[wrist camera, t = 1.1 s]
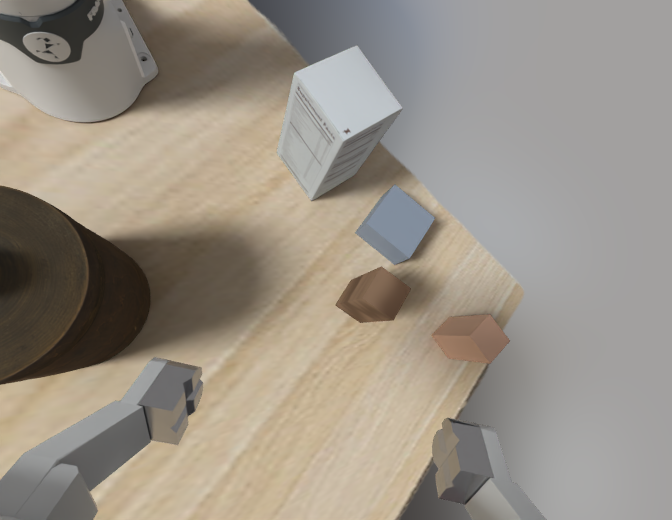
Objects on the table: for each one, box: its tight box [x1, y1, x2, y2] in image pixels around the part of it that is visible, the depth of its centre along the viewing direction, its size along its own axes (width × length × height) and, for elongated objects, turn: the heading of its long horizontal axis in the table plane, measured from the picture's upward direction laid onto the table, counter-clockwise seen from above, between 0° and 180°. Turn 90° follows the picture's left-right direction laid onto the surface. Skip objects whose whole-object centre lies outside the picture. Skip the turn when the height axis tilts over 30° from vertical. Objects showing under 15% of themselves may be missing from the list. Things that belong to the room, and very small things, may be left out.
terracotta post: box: [432, 314, 510, 364], centre depth 48 cm, size 4×4×9 cm
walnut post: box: [336, 267, 411, 323], centre depth 44 cm, size 4×4×11 cm
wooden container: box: [0, 186, 150, 385], centre depth 29 cm, size 15×15×22 cm
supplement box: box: [277, 46, 403, 201], centre depth 44 cm, size 10×9×17 cm
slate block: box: [355, 185, 435, 265], centre depth 51 cm, size 8×8×5 cm
